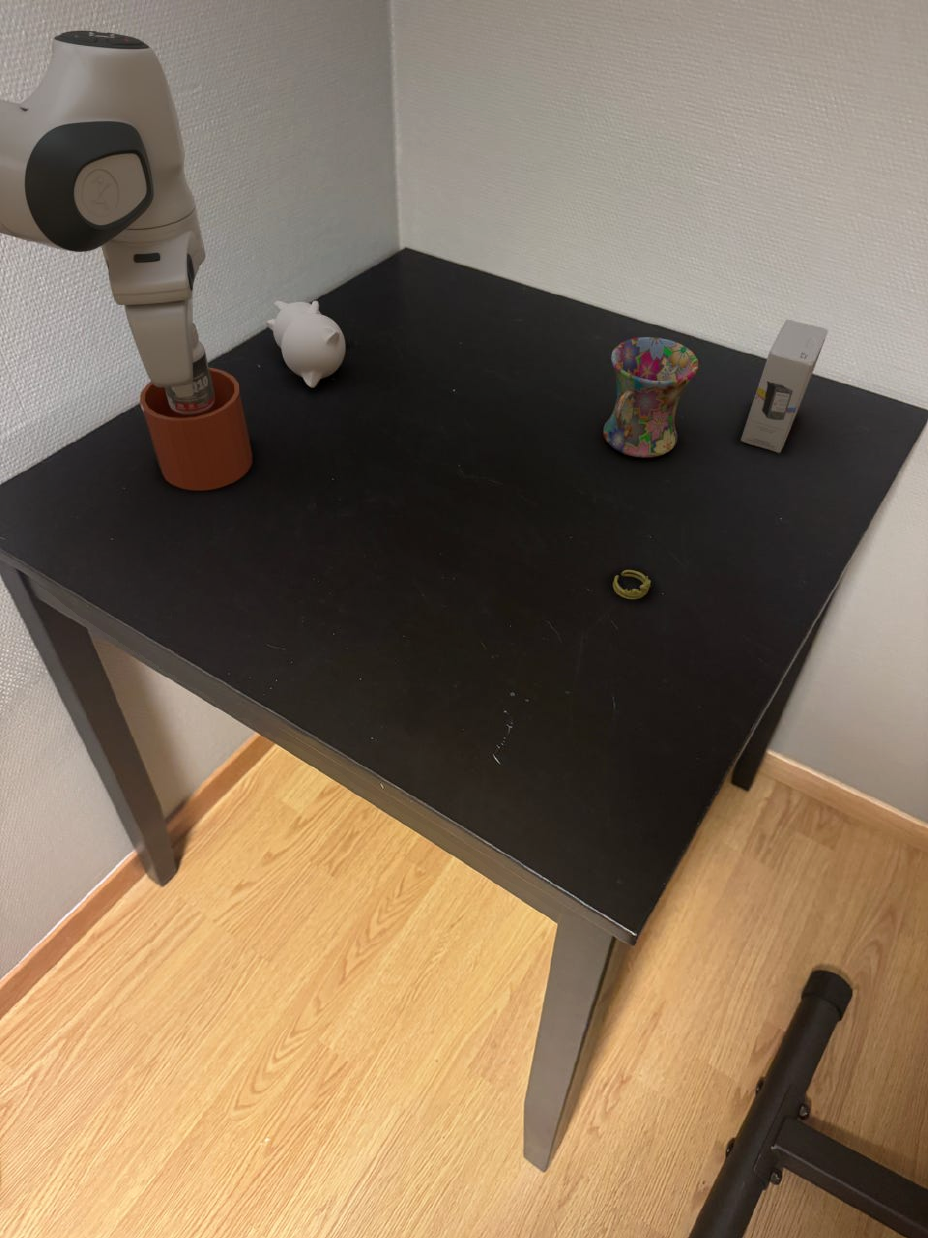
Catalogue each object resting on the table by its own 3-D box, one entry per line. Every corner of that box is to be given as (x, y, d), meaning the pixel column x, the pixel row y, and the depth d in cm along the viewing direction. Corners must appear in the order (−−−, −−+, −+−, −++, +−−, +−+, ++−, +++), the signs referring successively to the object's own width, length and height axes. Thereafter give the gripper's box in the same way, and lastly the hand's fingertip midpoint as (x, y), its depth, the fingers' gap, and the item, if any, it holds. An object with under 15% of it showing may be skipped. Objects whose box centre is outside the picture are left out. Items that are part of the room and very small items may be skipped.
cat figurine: (276, 276, 106) (311, 316, 99) (348, 305, 113) (386, 344, 106) (250, 341, 110) (282, 384, 103) (321, 365, 117) (356, 407, 110)
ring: (627, 609, 83) (639, 594, 81) (605, 584, 84) (616, 568, 81) (650, 593, 85) (663, 577, 82) (628, 569, 86) (640, 552, 83)
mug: (622, 409, 105) (637, 327, 97) (692, 436, 101) (713, 354, 93) (571, 456, 98) (582, 373, 90) (644, 487, 94) (662, 404, 87)
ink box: (756, 406, 106) (784, 315, 97) (797, 417, 104) (830, 326, 96) (738, 443, 100) (766, 351, 92) (781, 456, 99) (814, 363, 90)
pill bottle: (176, 420, 88) (156, 345, 82) (164, 397, 91) (144, 323, 85) (221, 408, 90) (205, 334, 84) (208, 386, 93) (192, 313, 86)
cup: (160, 496, 92) (138, 425, 85) (162, 441, 99) (141, 371, 92) (255, 485, 94) (240, 414, 87) (250, 432, 100) (237, 362, 94)
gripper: (122, 198, 84) (156, 329, 95) (108, 296, 71) (150, 437, 81) (188, 194, 85) (215, 324, 96) (187, 290, 72) (219, 430, 82)
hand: (185, 377), depth 88 cm, fingers closed on pill bottle, 5 cm apart
